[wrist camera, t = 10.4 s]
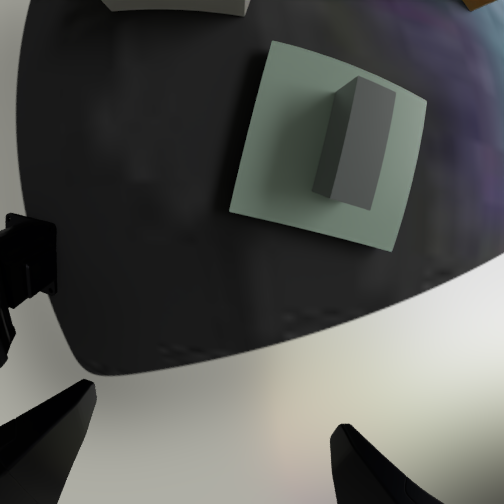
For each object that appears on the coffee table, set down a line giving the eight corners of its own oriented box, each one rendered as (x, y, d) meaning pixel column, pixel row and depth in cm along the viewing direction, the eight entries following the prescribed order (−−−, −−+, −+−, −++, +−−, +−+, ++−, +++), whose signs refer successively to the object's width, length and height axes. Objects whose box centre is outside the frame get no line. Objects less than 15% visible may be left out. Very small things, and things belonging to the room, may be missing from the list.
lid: (230, 207, 20) (225, 224, 14) (269, 50, 16) (279, 12, 11) (381, 245, 21) (420, 271, 15) (414, 104, 18) (459, 93, 12)
